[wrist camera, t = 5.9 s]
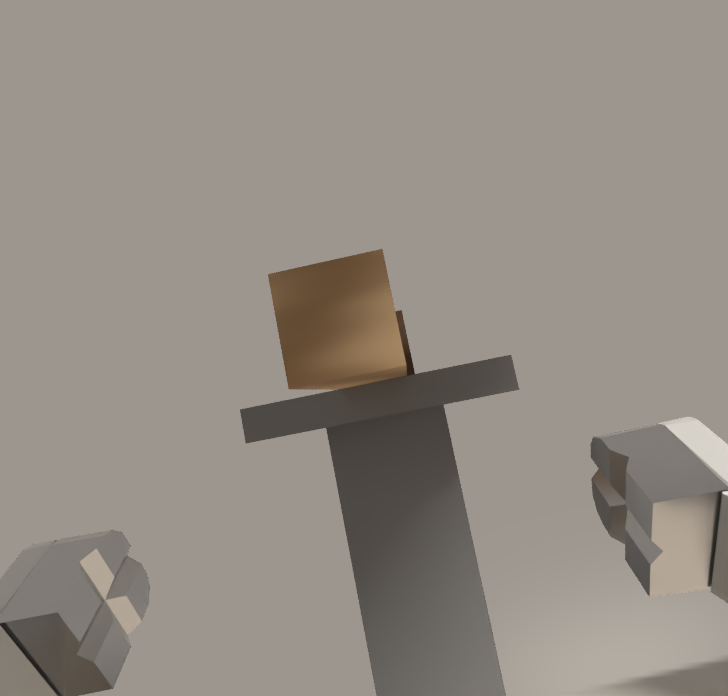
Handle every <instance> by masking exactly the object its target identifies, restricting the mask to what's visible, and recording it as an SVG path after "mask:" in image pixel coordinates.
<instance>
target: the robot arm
mask: <svg viewBox="0 0 728 696" xmlns="http://www.w3.org/2000/svg"><path fill="white" fill-rule="evenodd" d="M591 458H592V460H593V461H594V462H595V464H596V465H597V467H598V468H599V469H598V471H597V472H596V473H595V475H594V476H593V478H592V491H593V498H594V501H595V505H596V509H597V512H598V514H599V516H600V518H601V520H602V523H603V525H604V526H605V528H606V529H607V531H608V533H609V534H610V536H611V537H612V538H614V539H616V540H618V541H620V542H621V543H623V544H625V560H626V561H627V563H628V564H629V566H630V568H631V569H632V571H633V572H634V574H635V575H636V577H637V578H638V580H639V581H640V583H641V585H642V586H643V588H644V589H645V591H646V592H647V594H648V595H649V597H655V596H662V595H669V594H676V593H683V592H690V591H697V590H704V589H711V592H712V593H713V594H715V595H717V596H718V597H719V598H721V599H723V600H724V601H725V602H727V603H728V445H727V444H726V443H725V442H724V441H723V440H721V439H720V438H719V437H718V436H717V435H715V434H714V433H713V432H712V431H711V430H709V429H708V428H707V427H706V426H704V425H703V424H702V423H701V422H700V421H699V420H697V419H695V418H692V417H685V418H680V419H675V420H671V421H666V422H661V423H657V424H656V425H651V426H646V427H641V428H636V429H631V430H626V431H621V432H616V433H611V434H606V435H601V436H596V437H593V439H592V442H591ZM130 546H131V545H130V544H129V542H128V541H127V539H126V538H125V536H124V535H123V533H122V532H118V531H113V530H111V531H105V532H99V533H94V534H88V535H82V536H76V537H70V538H64V539H60V540H55V541H49V542H43V543H38V544H33V545H32V546H30V547H28V548H26V549H24V550H23V551H22V552H21V553H20V555H19V556H18V557H17V558H16V560H15V561H14V562H13V564H12V565H11V566H10V567H9V569H8V570H7V571H6V572H5V574H4V575H3V576H2V578H1V579H0V696H79V695H84V694H89V693H94V692H99V691H103V690H109V689H113V687H114V685H115V683H116V680H117V678H118V676H119V673H120V671H121V669H122V666H123V664H124V662H125V659H126V657H127V655H128V652H129V650H130V648H131V646H130V642H129V639H128V634H129V633H130V632H131V631H132V630H133V629H134V628H135V627H136V626H137V625H138V624H139V623H140V622H141V621H142V619H143V617H144V614H145V612H146V609H147V606H148V601H149V590H150V586H149V581H148V577H147V573H146V571H145V570H144V568H143V566H142V564H141V563H139V562H137V561H136V560H134V559H132V558H130V557H128V553H129V549H130Z"/></svg>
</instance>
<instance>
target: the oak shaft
mask: <svg viewBox="0 0 728 696" xmlns="http://www.w3.org/2000/svg"><path fill="white" fill-rule="evenodd" d="M268 277H269V283H270V288H271V294H272V299H273V305H274V310H275V316H276V321H277V327H278V332H279V338H280V343H281V349H282V354H283V360H284V365H285V371H286V376H287V381H288V387H289V389H332V390H334V389H335V390H339V389H344V388H349V387H354V386H359V385H364V384H369V383H374V382H379V381H384V380H389V379H394V378H399V377H404V376H409V375H414V374H415V373H414V368H413V363H412V358H411V353H410V349H409V345H408V339H407V335H406V330H405V325H404V320H403V315H402V311H396V312H395V308H394V303H393V298H392V293H391V289H390V284H389V279H388V275H387V270H386V265H385V260H384V255H383V250H382V249H380V250H376V251H371V252H367V253H362V254H358V255H353V256H349V257H344V258H340V259H335V260H330V261H326V262H321V263H317V264H313V265H308V266H303V267H299V268H295V269H290V270H286V271H281V272H276V273H272V274H268Z"/></svg>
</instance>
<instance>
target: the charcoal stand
mask: <svg viewBox="0 0 728 696" xmlns="http://www.w3.org/2000/svg"><path fill="white" fill-rule="evenodd" d="M514 390H519V387H518V383H517V379H516V374H515V370H514V365H513V361H512V357H511V355H508V356H503V357H498V358H493V359H488V360H483V361H478V362H473V363H469V364H463V365H458V366H453V367H449V368H444V369H438V370H434V371H429V372H424V373H419V374H414V375H409V376H404V377H399V378H394V379H389V380H384V381H379V382H374V383H369V384H364V385H359V386H354V387H349V388H344V389H339V390H334V391H330V392H325V393H320V394H315V395H310V396H305V397H300V398H295V399H291V400H285V401H280V402H275V403H270V404H266V405H261V406H255V407H250V408H246V409H241V410H240V412H241V418H242V424H243V429H244V435H245V441H246V443H250V442H255V441H260V440H265V439H271V438H275V437H281V436H286V435H290V434H296V433H301V432H306V431H311V430H316V429H321V428H326V429H327V434H328V440H329V445H330V450H331V456H332V461H333V466H334V471H335V477H336V482H337V487H338V493H339V498H340V503H341V509H342V514H343V519H344V525H345V530H346V535H347V540H348V546H349V551H350V556H351V561H352V567H353V572H354V578H355V582H356V588H357V594H358V599H359V604H360V609H361V615H362V620H363V625H364V630H365V635H366V641H367V647H368V652H369V657H370V662H371V668H372V672H373V678H374V684H375V689H376V694H377V696H506V694H505V690H504V685H503V681H502V675H501V671H500V666H499V662H498V657H497V653H496V647H495V643H494V639H493V634H492V629H491V624H490V619H489V615H488V610H487V606H486V601H485V596H484V592H483V587H482V582H481V577H480V573H479V569H478V563H477V559H476V555H475V549H474V545H473V540H472V536H471V531H470V526H469V522H468V517H467V513H466V508H465V503H464V499H463V494H462V489H461V484H460V480H459V475H458V470H457V466H456V461H455V456H454V452H453V447H452V443H451V438H450V433H449V428H448V424H447V419H446V414H445V410H444V405H443V404H448V403H453V402H459V401H464V400H469V399H474V398H479V397H484V396H489V395H494V394H499V393H504V392H509V391H514Z"/></svg>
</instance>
